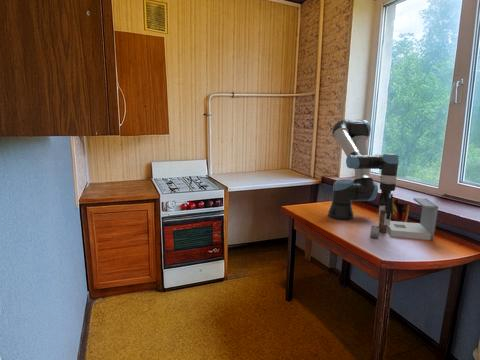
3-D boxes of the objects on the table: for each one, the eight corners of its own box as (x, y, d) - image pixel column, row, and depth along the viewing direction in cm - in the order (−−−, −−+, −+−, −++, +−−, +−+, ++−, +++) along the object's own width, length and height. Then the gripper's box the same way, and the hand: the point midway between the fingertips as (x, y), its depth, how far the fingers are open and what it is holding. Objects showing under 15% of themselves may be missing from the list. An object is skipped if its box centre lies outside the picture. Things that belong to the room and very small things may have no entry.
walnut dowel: (377, 230, 166) (379, 209, 164) (385, 230, 165) (387, 210, 163) (379, 232, 162) (381, 211, 160) (387, 233, 161) (389, 212, 159)
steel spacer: (369, 235, 158) (370, 225, 157) (377, 236, 157) (378, 225, 156) (370, 238, 154) (372, 227, 153) (379, 239, 153) (380, 228, 152)
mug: (402, 225, 174) (404, 206, 171) (386, 218, 187) (388, 199, 184) (416, 224, 176) (419, 205, 173) (399, 217, 189) (401, 199, 186)
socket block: (383, 226, 173) (387, 196, 169) (422, 229, 168) (426, 198, 165) (390, 236, 157) (394, 203, 154) (433, 240, 153) (438, 206, 149)
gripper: (375, 178, 171) (371, 213, 175) (385, 186, 147) (381, 227, 151) (389, 178, 169) (385, 214, 173) (402, 187, 145) (397, 229, 149)
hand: (383, 220), depth 162 cm, fingers open, 13 cm apart
